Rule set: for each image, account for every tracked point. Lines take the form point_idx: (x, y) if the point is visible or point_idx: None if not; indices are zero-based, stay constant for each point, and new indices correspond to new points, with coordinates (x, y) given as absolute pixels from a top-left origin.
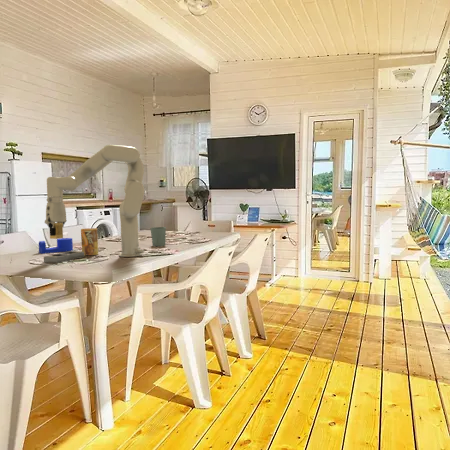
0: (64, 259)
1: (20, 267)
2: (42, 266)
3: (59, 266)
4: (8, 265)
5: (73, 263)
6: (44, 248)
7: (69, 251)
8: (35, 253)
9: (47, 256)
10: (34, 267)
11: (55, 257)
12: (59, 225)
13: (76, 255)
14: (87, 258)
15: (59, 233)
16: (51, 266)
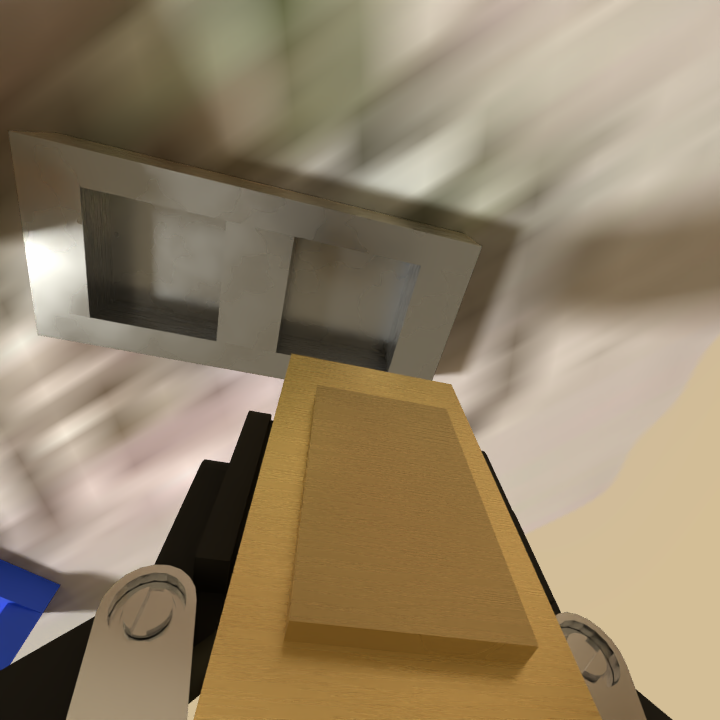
0: (371, 213)
1: (626, 411)
2: (625, 272)
3: (674, 84)
4: (526, 517)
5: (503, 6)
6: (13, 616)
7: (70, 340)
8: (68, 619)
9: (421, 373)
10: (657, 312)
11: (472, 266)
12: (445, 622)
13: (176, 168)
14: (132, 12)
15: (412, 417)
16: (648, 182)
